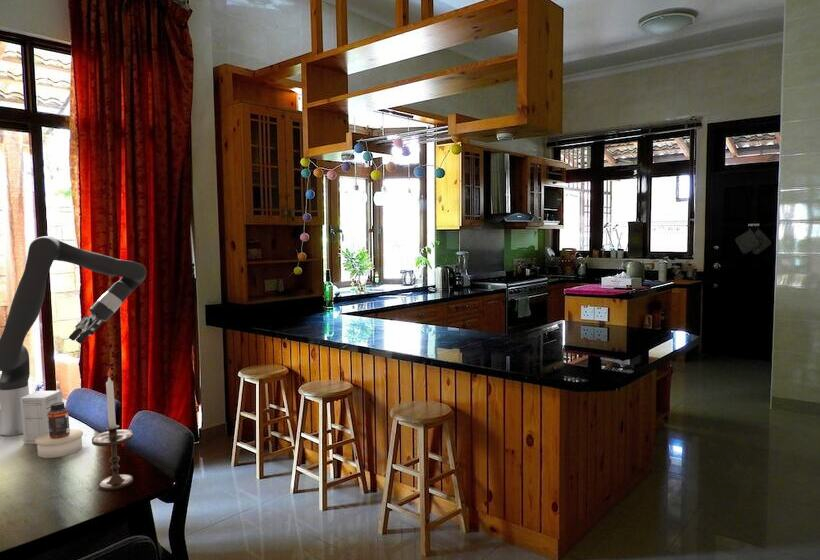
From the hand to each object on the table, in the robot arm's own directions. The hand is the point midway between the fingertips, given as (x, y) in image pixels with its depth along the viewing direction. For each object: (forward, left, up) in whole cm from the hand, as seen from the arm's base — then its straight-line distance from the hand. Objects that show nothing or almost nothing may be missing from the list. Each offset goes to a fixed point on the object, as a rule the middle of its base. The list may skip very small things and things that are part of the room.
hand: (74, 340), depth 211 cm
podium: (+1, -17, -35) cm, 39 cm away
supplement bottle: (+1, -17, -30) cm, 34 cm away
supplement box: (-10, -5, -35) cm, 37 cm away
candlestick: (+31, -47, -35) cm, 66 cm away
